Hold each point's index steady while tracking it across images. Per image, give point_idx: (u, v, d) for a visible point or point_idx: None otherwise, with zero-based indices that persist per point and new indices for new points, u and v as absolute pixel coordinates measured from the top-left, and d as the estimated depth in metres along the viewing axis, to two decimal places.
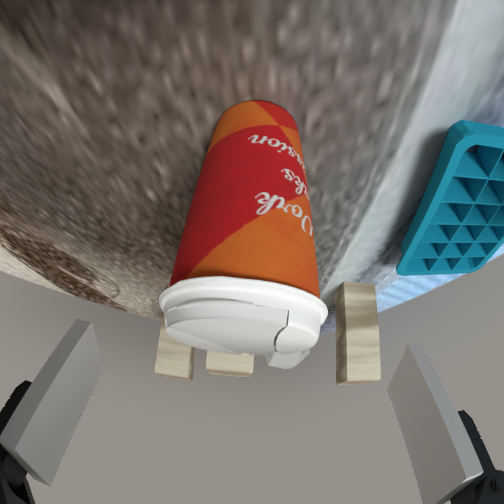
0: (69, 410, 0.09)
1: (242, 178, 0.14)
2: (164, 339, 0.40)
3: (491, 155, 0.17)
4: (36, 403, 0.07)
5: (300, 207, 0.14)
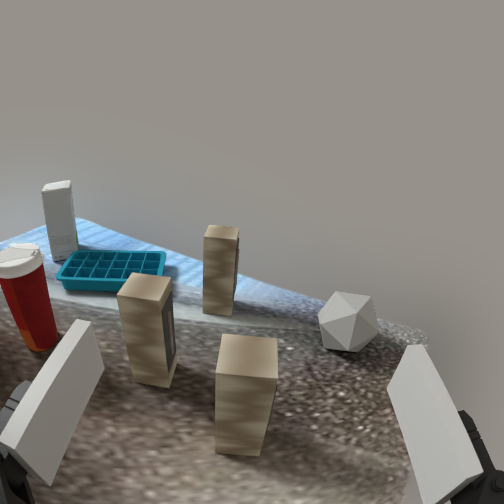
0: (69, 410, 0.09)
1: None
2: None
3: (73, 271, 0.52)
4: (36, 403, 0.07)
5: None
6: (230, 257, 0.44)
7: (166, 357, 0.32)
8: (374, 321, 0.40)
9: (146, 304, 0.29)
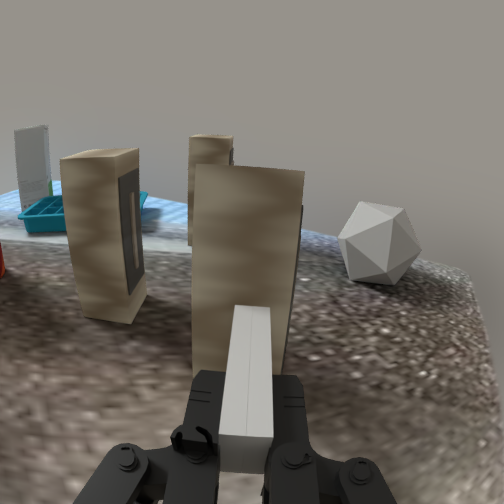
0: None
1: None
2: None
3: (38, 213, 0.41)
4: (244, 386, 0.09)
5: None
6: (222, 162, 0.34)
7: (125, 266, 0.22)
8: (414, 236, 0.29)
9: (97, 166, 0.18)
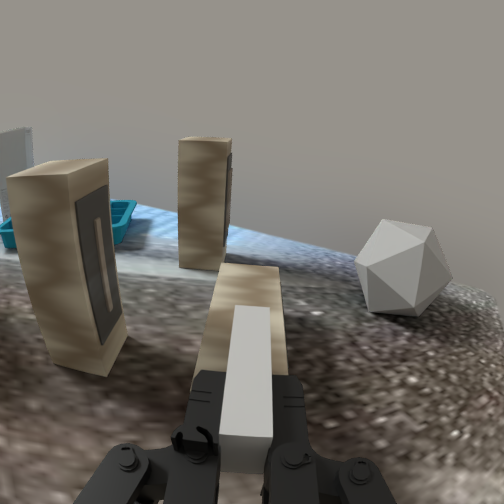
0: None
1: None
2: None
3: None
4: (245, 386, 0.09)
5: None
6: (218, 171, 0.28)
7: (93, 313, 0.16)
8: (444, 261, 0.24)
9: (47, 187, 0.13)
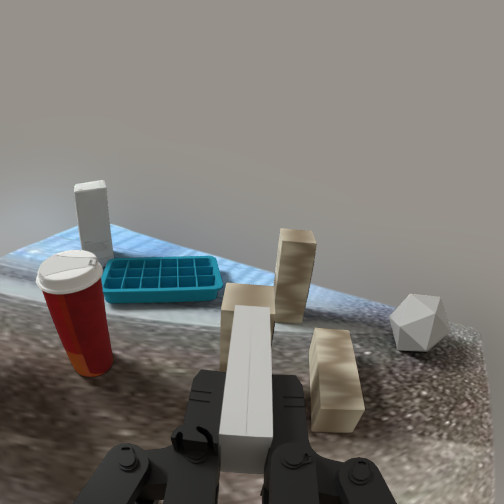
0: None
1: None
2: (315, 357, 0.34)
3: (115, 282, 0.48)
4: (245, 386, 0.09)
5: None
6: (308, 262, 0.42)
7: None
8: (446, 320, 0.37)
9: None
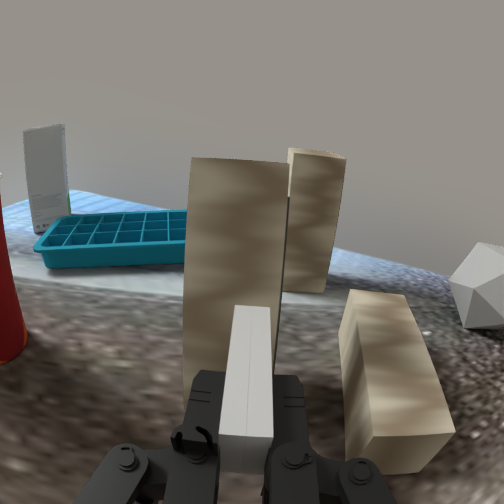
0: None
1: None
2: (354, 335, 0.19)
3: (59, 241, 0.32)
4: (244, 386, 0.09)
5: None
6: (334, 190, 0.26)
7: (276, 331, 0.15)
8: None
9: (259, 174, 0.14)
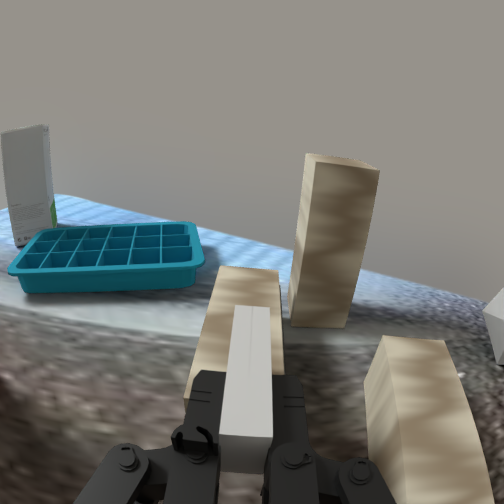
0: None
1: None
2: (389, 401, 0.14)
3: (38, 261, 0.27)
4: (245, 386, 0.09)
5: None
6: (364, 208, 0.21)
7: (281, 343, 0.17)
8: None
9: (260, 272, 0.24)
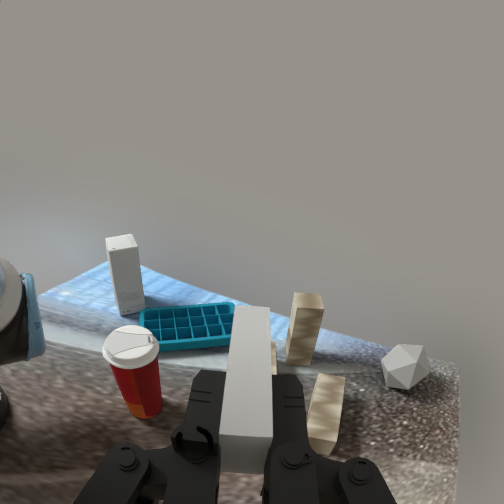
0: None
1: None
2: (313, 396, 0.44)
3: (152, 333, 0.57)
4: (245, 386, 0.09)
5: None
6: (317, 322, 0.51)
7: None
8: (426, 365, 0.46)
9: None
